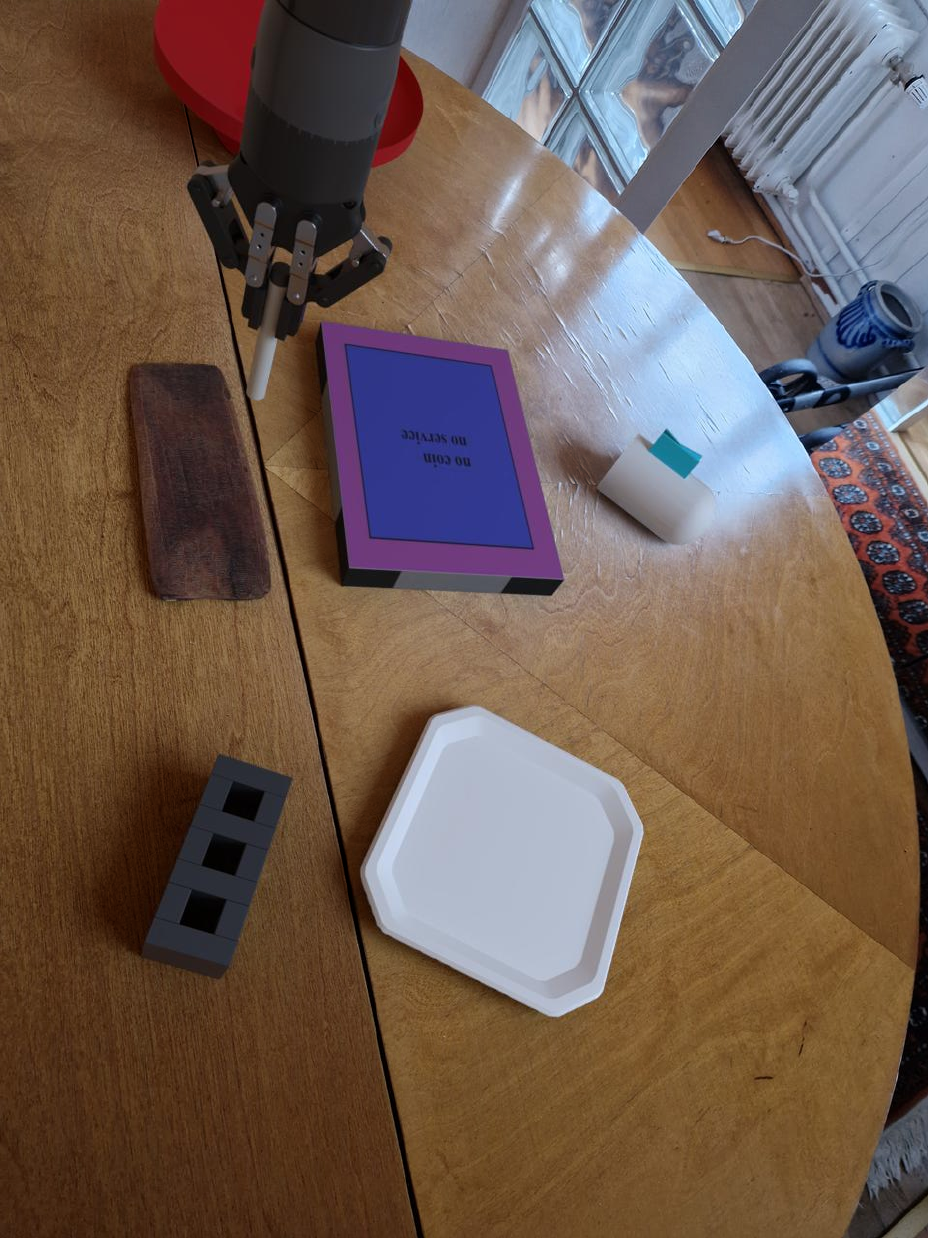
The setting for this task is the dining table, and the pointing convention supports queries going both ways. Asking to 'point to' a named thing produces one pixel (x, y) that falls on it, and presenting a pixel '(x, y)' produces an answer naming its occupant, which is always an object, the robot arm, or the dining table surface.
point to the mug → (661, 488)
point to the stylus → (268, 331)
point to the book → (431, 466)
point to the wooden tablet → (196, 486)
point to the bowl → (248, 70)
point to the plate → (505, 860)
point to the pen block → (210, 886)
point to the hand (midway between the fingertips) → (269, 326)
